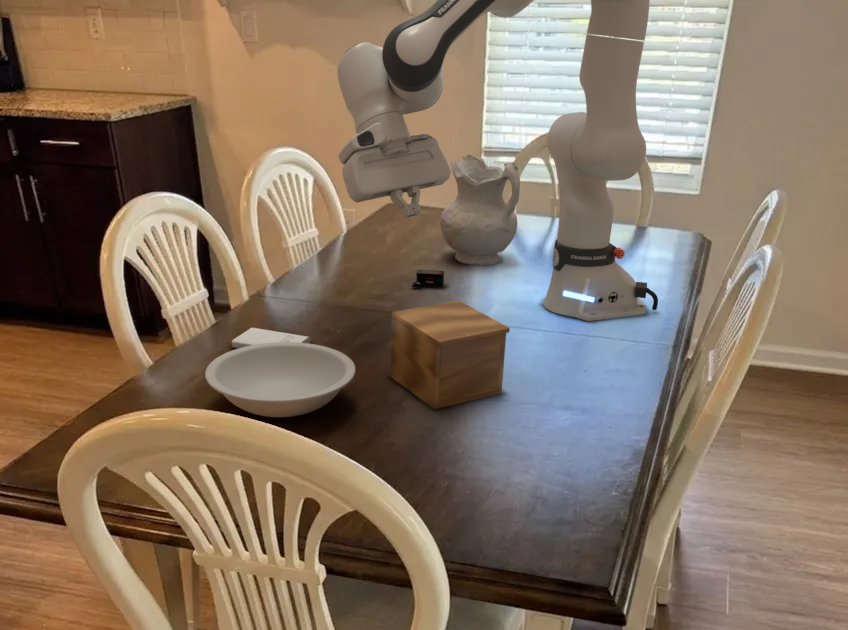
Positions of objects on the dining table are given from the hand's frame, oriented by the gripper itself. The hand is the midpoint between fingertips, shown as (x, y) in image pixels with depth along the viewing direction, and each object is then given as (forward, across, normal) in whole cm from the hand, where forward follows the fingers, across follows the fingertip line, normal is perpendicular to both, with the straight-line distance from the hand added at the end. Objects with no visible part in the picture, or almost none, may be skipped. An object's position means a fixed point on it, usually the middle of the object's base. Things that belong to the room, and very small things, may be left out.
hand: (413, 215), depth 151 cm
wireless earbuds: (+6, -23, -40) cm, 46 cm away
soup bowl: (+25, +34, -5) cm, 42 cm away
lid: (+21, +6, +8) cm, 23 cm away
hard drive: (+11, +24, -26) cm, 37 cm away
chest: (+30, +6, +1) cm, 31 cm away
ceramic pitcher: (+1, -48, -50) cm, 69 cm away
